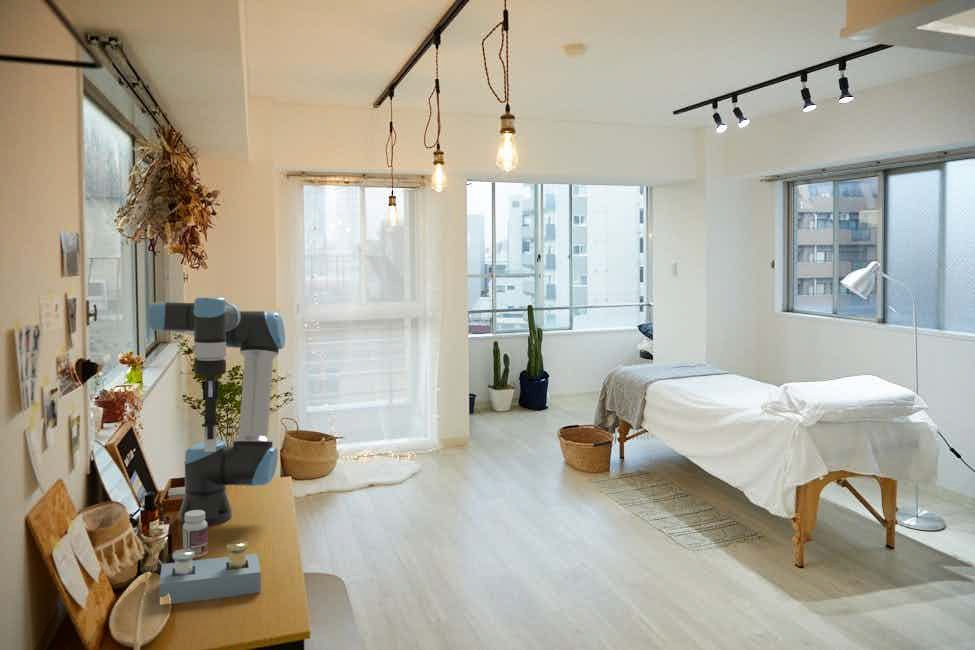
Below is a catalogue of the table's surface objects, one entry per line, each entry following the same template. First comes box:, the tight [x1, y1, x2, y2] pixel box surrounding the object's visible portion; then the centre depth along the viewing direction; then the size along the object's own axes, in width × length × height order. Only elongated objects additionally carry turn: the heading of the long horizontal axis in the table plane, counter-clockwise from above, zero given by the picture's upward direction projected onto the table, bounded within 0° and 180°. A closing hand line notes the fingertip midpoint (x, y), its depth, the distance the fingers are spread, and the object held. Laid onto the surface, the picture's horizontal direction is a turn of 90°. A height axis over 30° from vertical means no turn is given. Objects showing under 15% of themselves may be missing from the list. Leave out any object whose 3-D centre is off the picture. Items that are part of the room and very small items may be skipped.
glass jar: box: [226, 540, 249, 570], centre depth 177 cm, size 5×5×8 cm
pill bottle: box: [182, 510, 209, 559], centre depth 195 cm, size 6×6×11 cm
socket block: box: [158, 553, 262, 605], centre depth 175 cm, size 12×22×5 cm, turn 111°
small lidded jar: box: [172, 548, 195, 576], centre depth 172 cm, size 5×5×8 cm
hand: (210, 450), depth 185 cm, fingers closed
